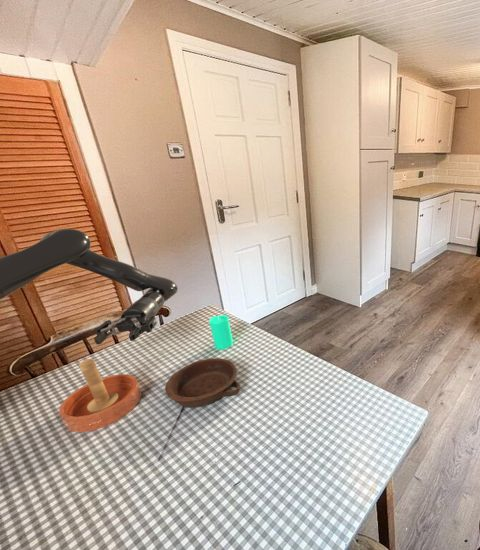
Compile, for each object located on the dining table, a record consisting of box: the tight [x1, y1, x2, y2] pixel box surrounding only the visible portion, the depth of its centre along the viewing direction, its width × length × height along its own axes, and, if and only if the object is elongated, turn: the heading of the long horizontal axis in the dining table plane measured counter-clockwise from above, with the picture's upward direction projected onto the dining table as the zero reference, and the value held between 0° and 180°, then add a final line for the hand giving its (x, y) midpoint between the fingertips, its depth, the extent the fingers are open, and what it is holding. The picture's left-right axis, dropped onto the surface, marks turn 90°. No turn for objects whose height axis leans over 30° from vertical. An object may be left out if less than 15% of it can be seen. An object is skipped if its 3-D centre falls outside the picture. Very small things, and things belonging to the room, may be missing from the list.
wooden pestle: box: [78, 358, 121, 415], centre depth 77 cm, size 6×6×14 cm
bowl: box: [58, 373, 143, 433], centre depth 80 cm, size 16×16×5 cm
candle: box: [208, 314, 234, 350], centre depth 105 cm, size 6×6×12 cm
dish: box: [164, 357, 241, 409], centre depth 86 cm, size 18×22×5 cm
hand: (114, 340), depth 86 cm, fingers open, 8 cm apart
